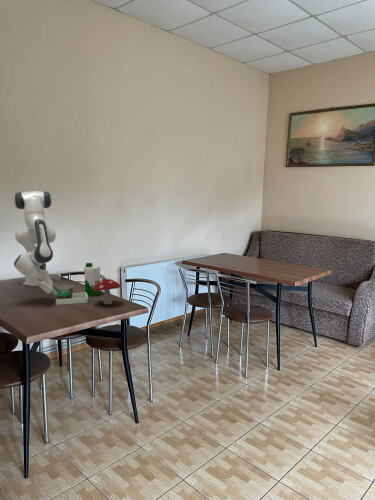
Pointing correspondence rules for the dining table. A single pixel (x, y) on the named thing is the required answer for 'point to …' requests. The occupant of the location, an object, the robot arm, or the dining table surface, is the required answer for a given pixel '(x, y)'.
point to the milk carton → (91, 278)
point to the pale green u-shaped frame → (74, 299)
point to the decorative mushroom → (106, 288)
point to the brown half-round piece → (64, 291)
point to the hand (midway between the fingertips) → (57, 293)
